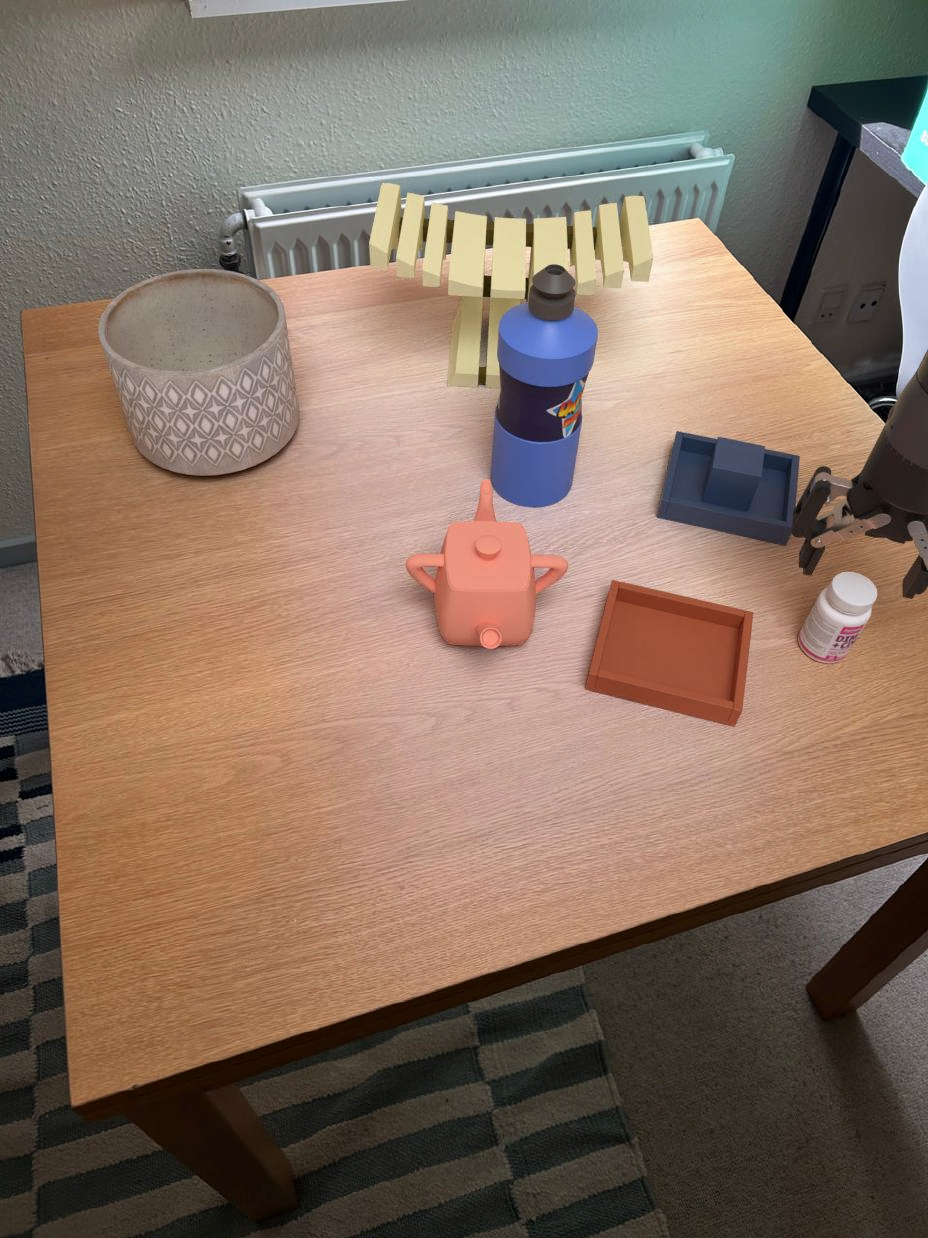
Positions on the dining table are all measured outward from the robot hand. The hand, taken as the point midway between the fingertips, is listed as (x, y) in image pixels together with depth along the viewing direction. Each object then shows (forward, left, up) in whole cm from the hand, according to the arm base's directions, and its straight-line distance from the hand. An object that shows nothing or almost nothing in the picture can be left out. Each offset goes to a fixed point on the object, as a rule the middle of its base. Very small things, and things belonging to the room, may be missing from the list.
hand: (856, 579), depth 80 cm
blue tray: (+11, -18, -10) cm, 23 cm away
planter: (+68, -11, -10) cm, 69 cm away
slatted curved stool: (+41, -36, -10) cm, 55 cm away
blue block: (+11, -18, -9) cm, 23 cm away
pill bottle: (0, 0, -10) cm, 10 cm away
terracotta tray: (+14, +6, -10) cm, 18 cm away
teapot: (+32, +6, -10) cm, 34 cm away
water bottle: (+32, -14, -10) cm, 36 cm away
